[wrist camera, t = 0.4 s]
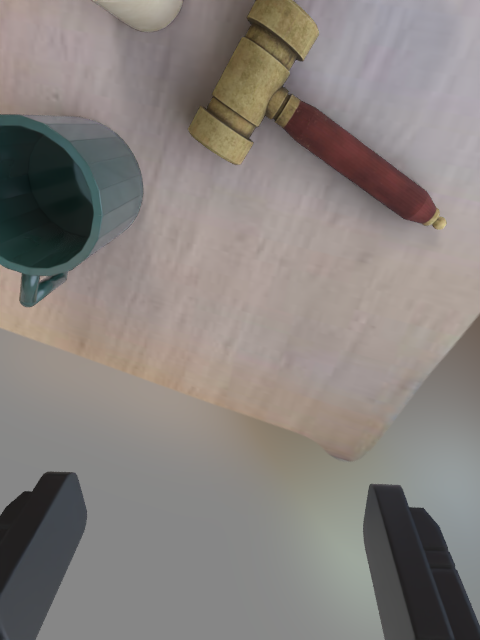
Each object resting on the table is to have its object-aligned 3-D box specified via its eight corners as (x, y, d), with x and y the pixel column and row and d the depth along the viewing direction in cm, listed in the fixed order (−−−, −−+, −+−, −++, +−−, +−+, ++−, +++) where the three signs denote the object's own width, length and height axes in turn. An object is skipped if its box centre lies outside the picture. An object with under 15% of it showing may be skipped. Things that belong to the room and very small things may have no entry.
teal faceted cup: (32, 98, 33) (-54, 89, 24) (155, 142, 33) (114, 148, 25) (17, 256, 38) (-56, 294, 30) (122, 290, 39) (80, 337, 30)
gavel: (508, 176, 30) (410, 285, 33) (476, 167, 34) (392, 266, 38) (264, -24, 25) (183, 132, 28) (261, -6, 29) (190, 129, 33)
